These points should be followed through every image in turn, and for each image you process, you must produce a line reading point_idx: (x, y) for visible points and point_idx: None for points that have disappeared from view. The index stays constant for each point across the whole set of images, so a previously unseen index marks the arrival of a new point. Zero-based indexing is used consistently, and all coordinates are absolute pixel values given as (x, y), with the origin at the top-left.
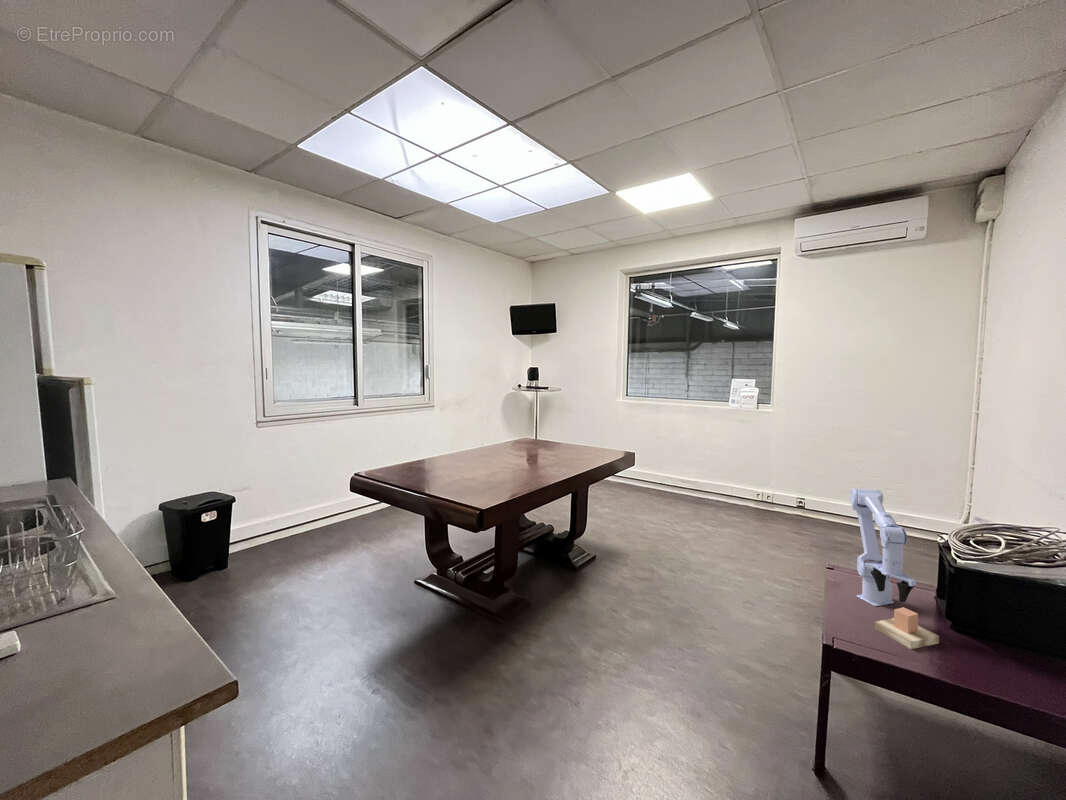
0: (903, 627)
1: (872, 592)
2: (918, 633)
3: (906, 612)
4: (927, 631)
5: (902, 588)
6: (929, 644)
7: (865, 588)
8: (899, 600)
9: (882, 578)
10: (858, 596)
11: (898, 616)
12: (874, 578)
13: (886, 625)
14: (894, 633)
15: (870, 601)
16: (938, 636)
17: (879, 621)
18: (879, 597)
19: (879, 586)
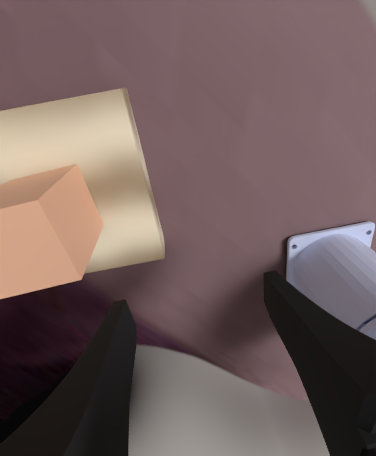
0: (21, 181)
1: (336, 271)
2: None
3: (3, 251)
4: None
5: (24, 431)
6: None
7: (373, 264)
8: (124, 302)
9: (315, 384)
10: (365, 225)
11: (22, 193)
12: (353, 332)
13: (82, 128)
14: (4, 110)
15: (317, 241)
16: None
17: (123, 120)
18: (307, 278)
19: (282, 299)
